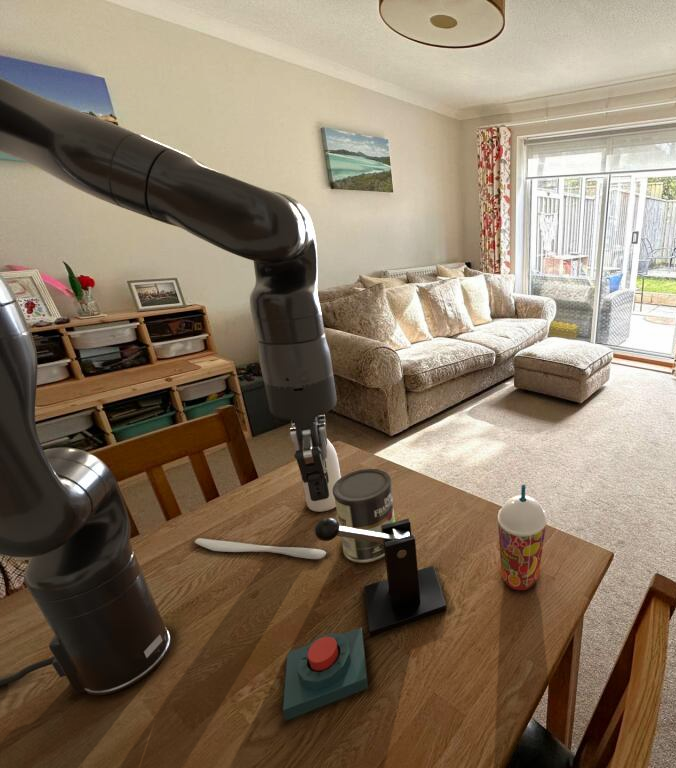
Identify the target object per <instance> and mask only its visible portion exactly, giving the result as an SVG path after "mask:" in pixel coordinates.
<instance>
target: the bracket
mask: <svg viewBox="0 0 676 768" xmlns="http://www.w3.org/2000/svg"><path fill="white" fill-rule="evenodd" d="M411 527H412V525H411V519H410V518H405V519H400V520H395V522H392V523H388V524H384V525H381V528H382V533H384V534H390V533H391V531H392V529H397V530H403V531H408V532H409V534H410V536H407V537H403V538H400V539H396V540H392V541H388V542H385V543H383V545H384V553H385V556H384V560H385V568H386V579H384V580H381V581H377V582H374V583H370V584H368V585H364V596H365V605H366V615H367V622H368V630H369V638H372V637H375V636H377V635H381V634H383V633H384V634H385V633H387V632H389V631H392V630H395V629H397V628H401V627H404V626H407V625H410V624H413V623H416V622H418V621H421V620H423V619H427V618H430V617H432V616H435V615H438V614H440V613H445V612H446V611H447V603H446V600H445V597H444V594H443V590H442V587H441V584H440V581H439V578H438V575H437V572H436V569H435V565H429V566H426V567H423V568H420V569H419V567H418V555H417V544H416V536H415V534H412V528H411Z"/></svg>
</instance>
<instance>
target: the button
mask: <svg viewBox="0 0 676 768" xmlns="http://www.w3.org/2000/svg"><path fill="white" fill-rule="evenodd" d="M337 657H338V648H337V643H336V640H335V639H334V638H332V637H323V638H320V639H318V640H317V641H315V642H314V643H313V644H312V645H311V647H310V648H309V651H308V659H309V663H310V667H311V668H312V669H313V670H315V671H323V670H325V669H327V668H329V667H330V666H332V665H333V664H334V662H335V661H336V659H337Z"/></svg>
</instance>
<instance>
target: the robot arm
mask: <svg viewBox="0 0 676 768" xmlns="http://www.w3.org/2000/svg"><path fill="white" fill-rule="evenodd" d="M0 153H3V154H5V155H8V156H11V157H13V158H16V159H18V160H20V161H23V162H26V163H27V164H30V165H31V166H34V167H35V168H38V169H40V170H41V171H43V172H45V173H47V174H49V175H50V176H52V177H54V178H56V179H58V180H60V181H62V182H63V183H65V184H67V185H69V186H70V187H73V188H74V189H77V190H78V191H81V192H83V193H85V194H88V195H90V196H92V197H94V198H96V199H98V200H102V201H104V202H107V203H109V204H111V205H115V206H117V207H119V208H122V209H125V210H126V211H127V210H128V211H130V212H133V213H136V214H138V215H141V216H144V217H147V218H149V219H152V220H155V221H158V222H160V223H164V224H167V225H170V226H173V227H177V228H180V229H182V230H184V231H186V232H187V233H190V234H191V235H193V236H194V237H197V238H199V239H201V240H202V241H205V242H207V243H209V244H212V245H213V246H215V247H217V248H219V249H221V250H224V251H226V252H228V253H231V254H233V255H236V256H238V257H241V258H244V259H246V260H250V261H253V269H254V276H255V283H254V287H253V289H252V290H251V293H250V295H249V307H250V312H251V317H252V321H253V327H254V331H255V336H256V340H257V351H258V362H259V366H260V372H261V375H262V376H261V377H262V380H263V381H262V382H263V384H264V389H265V393H266V398H267V403H268V407H269V411H270V413H271V414H272V415H273V416H274V417H276V418H278V419H280V420H287V421H290V424H291V427H290V428H289V436H290V440H291V441H290V442H292V443H293V444H294V450H295V451H294V452H295V453H294V458H295V459H296V463H297V465H298V466H297V467H298V468H299V472H301V473H300V476H301V475H302V478H301V481H302V480H303V482H304V483H306V482H308V487H309V492H310V497H311V500H312V501H318V500H323V499H327V498H328V497H329V489H328V482H329V477H328V471H327V466H326V460H325V459H326V458H327V447H326V445H327V439H328V437H327V420H326V415H325V414H327V413H328V412H330V411H331V410H333V409H334V408H335V406H336V405H337V402H338V397H337V389H336V384H335V376H334V370H333V364H332V357H331V352H330V351H331V350H330V347H329V344H328V341H327V338H326V332H325V326H324V320H323V313H322V308H321V303H320V297H319V292H318V249H317V239H316V238H317V237H316V232H315V228H314V224H313V221H312V218H311V216H310V214H309V212H308V211H307V209H306V208H305V207H304V206H303V205H302V203H300V202H299V201H298V200H297V199H296V198H294V197H292V196H291V195H288V194H285V193H283V192H278V191H274V190H269V189H265V188H263V187H261V186H260V187H259V186H257V185H254V184H252V183H248V182H245V181H244V180H240V179H238V178H235V177H233V176H230V175H227V174H225V173H223V172H220V171H217V170H215V169H213V168H209V167H207V166H206V165H205V164H204V163H203V162H201V161H199V160H198V159H196V158H194V157H193V156H190V155H189V154H186V153H184V152H182V151H179V150H177V149H175V148H173V147H170V146H168V145H166V144H164V143H161V142H158V141H156V140H154V139H151V138H149V137H147V136H145V135H142V134H139V133H137V132H135V131H133V130H130V129H127V128H125V127H122V126H120V125H118V124H115V123H113V122H110V121H107V120H105V119H102V118H100V117H97V116H94V115H91V114H89V113H86V112H84V111H81V110H78V109H76V108H73V107H71V106H67V105H65V104H61V103H59V102H56V101H54V100H51V99H49V98H46V97H44V96H41V95H39V94H36V93H34V92H32V91H30V90H27V89H25V88H23V87H21V86H19V85H16V84H14V83H13V82H11V81H9V80H6V79H4V78H2V77H0ZM37 385H38V353H37V347H36V344H35V340H34V337H33V334H32V331H31V329H30V326H29V324H28V322H27V319H26V317H25V314H24V312H23V310H22V308H21V305H20V303H19V301H18V300H17V297H16V294H15V293H14V291H13V289H12V288H11V286H10V284H9V283H8V281H7V280H6V278H5V277H4V276H3V275H2V274H1V273H0V555H1V556H7V557H11V558H22V559H23V558H25V559H27V558H29V559H28V561H27V565H26V567H25V570H24V574H23V579H24V583H25V586H26V588H27V589H28V591H29V593H30V595H31V596H32V598H33V600H34V601H35V603H36V605H37V606H38V608H39V610H40V612H41V614H42V616H43V617H44V619H45V620H46V623H47V624H48V626H49V627H50V629H51V631H52V632H53V637H52V638H51V640H50V641H49V643H48V649H49V650H50V652H51V653H52V656H51V657H47V658H45V659H42V660H40V661H37V662H35V663H31V664H30V665H28V666H27V665H26V666H25V667H23V668H22V669H21V670H20V671H19V672H16V673H14V674H12V675H9V676H7V677H3V678H0V687H2V686H6V685H8V684H12V683H14V682H16V681H19V680H21V679H23V678H24V677H25V676H27V675H28V674H30V673H32V672H34V671H37V670H39V669H42V668H44V667H48V666H50V665H52V666H53V668H54V670H55V672H56V673H57V675H58V677H59V678H64V677H66V679H67V680H68V682H69V684H70V685H71V687H72V689H73V691H74V693H75V694H76V695H82V694H86V693H87V694H89V695H91V696H98V697H101V696H107V695H112V694H115V693H118V692H121V691H123V690H125V689H127V688H129V687H131V686H133V685H135V684H136V683H138V682H140V681H141V680H143V679H144V678H145V677H147V676H148V675H150V674H151V673H152V672H153V671H154V670H155V669H156V668H157V667H158V666H159V665H160V664H161V662H162V661H163V660H164V659H165V657H166V656H167V655H168V652H169V651H170V648H171V645H172V638H171V634H170V632H169V630H168V629H167V627H166V625H165V623H164V620H163V618H162V615H161V613H160V611H159V608H158V606H157V604H156V601H155V599H154V597H153V594H152V592H151V589H150V586H149V584H148V582H147V580H146V577H145V574H144V572H143V571H142V568H141V566H140V563H139V561H138V559H137V557H136V554H135V551H134V549H133V546H132V544H131V532H132V526H131V520H130V517H129V514H128V510H127V508H126V506H125V505H126V504H125V501H124V499H123V496H122V492H121V490H120V487H119V483H118V482H117V480H116V477H115V475H114V474H113V472H112V470H111V469H110V467H109V466H108V465H107V464H106V463H105V462H104V461H103V460H101V459H100V458H99V457H98V456H97V455H94V454H92V453H90V452H88V451H86V450H83V449H79V448H75V447H74V448H73V447H53V448H47V449H44V448H43V446H42V444H41V440H40V439H39V435H38V430H37V425H36V424H37V423H36V400H37V388H38V387H37Z"/></svg>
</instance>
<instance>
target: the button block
mask: <svg viewBox="0 0 676 768" xmlns="http://www.w3.org/2000/svg"><path fill="white" fill-rule="evenodd" d="M323 637H332V638H334V639H335V640H336V643H337V648H338V657H337V659H336V661H335V662H334V664H333V665H332V666H330V667H329V668H327V669H325V670H323V671H315V670H313V669H312V668H311V667H310V663H309V659H308V651H309V648H310V647H311V645H312V644H313V643H314V642H315V641H317V640H318V639H320V638H323ZM366 663H367V662H366V653H365V643H364V633H363V628H362V627H359V628H356V629H352V630H349V631H347V632H343V633H341V634H338V633H327V634H324V635H321V636H318V637H316V638H315V639H314V640H312V641H311V642H310V643H309V644H307V645H306V646H302V647H299V648H296V649H294V650H290V651H288V652H287V653H286V664H285V678H284V689H283V690H284V691H283V703H282V713H283V716H284V719H285V721H289V720H292V719H294V718H296V717H299V716H301V715H304V714H307V713H309V712H311V711H314V710H316V709H319V708H322V707H324V706H327V705H329V704H332V703H334V702H335V703H336V702H337V701H339V700H342V699H344V698H348V697H350V696H352V695H354V694H355V695H356V694H357V693H360V692H362V691H365V690H367V689H368V688H369V683H368V673H367V672H368V671H367V664H366Z"/></svg>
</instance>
